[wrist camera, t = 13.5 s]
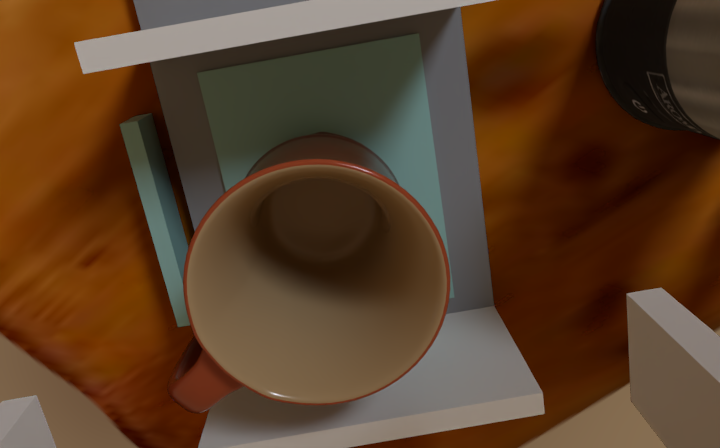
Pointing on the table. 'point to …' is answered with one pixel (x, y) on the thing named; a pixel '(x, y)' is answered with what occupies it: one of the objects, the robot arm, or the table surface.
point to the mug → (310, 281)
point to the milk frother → (663, 61)
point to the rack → (343, 117)
